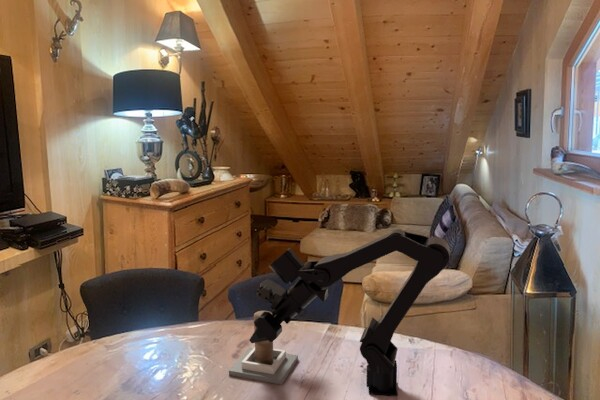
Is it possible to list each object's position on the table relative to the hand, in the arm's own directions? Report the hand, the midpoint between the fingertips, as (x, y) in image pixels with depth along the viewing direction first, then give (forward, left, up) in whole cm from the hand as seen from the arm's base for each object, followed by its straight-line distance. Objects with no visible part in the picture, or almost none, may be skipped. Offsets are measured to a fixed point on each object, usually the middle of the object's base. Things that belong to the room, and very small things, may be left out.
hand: (258, 333), depth 114 cm
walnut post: (-1, 0, -8) cm, 8 cm away
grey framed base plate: (-1, 0, -9) cm, 9 cm away
